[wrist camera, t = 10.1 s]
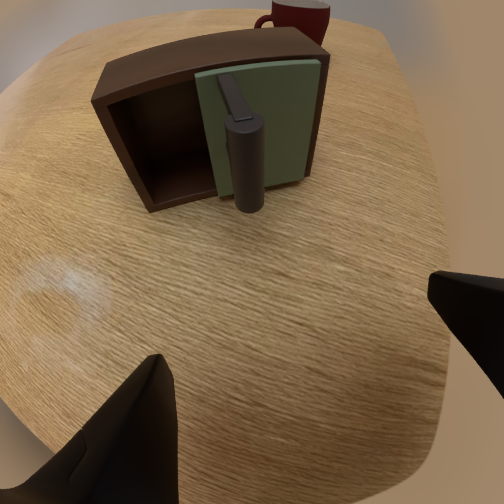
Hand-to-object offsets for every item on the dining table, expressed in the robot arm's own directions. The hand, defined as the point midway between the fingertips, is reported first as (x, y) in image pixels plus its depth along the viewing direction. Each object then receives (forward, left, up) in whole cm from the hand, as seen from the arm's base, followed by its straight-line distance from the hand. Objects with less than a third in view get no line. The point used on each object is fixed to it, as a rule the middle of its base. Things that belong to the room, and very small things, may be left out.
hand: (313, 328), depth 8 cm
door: (+10, +2, -9) cm, 14 cm away
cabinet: (+15, +6, -10) cm, 19 cm away
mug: (+40, 0, -10) cm, 42 cm away
